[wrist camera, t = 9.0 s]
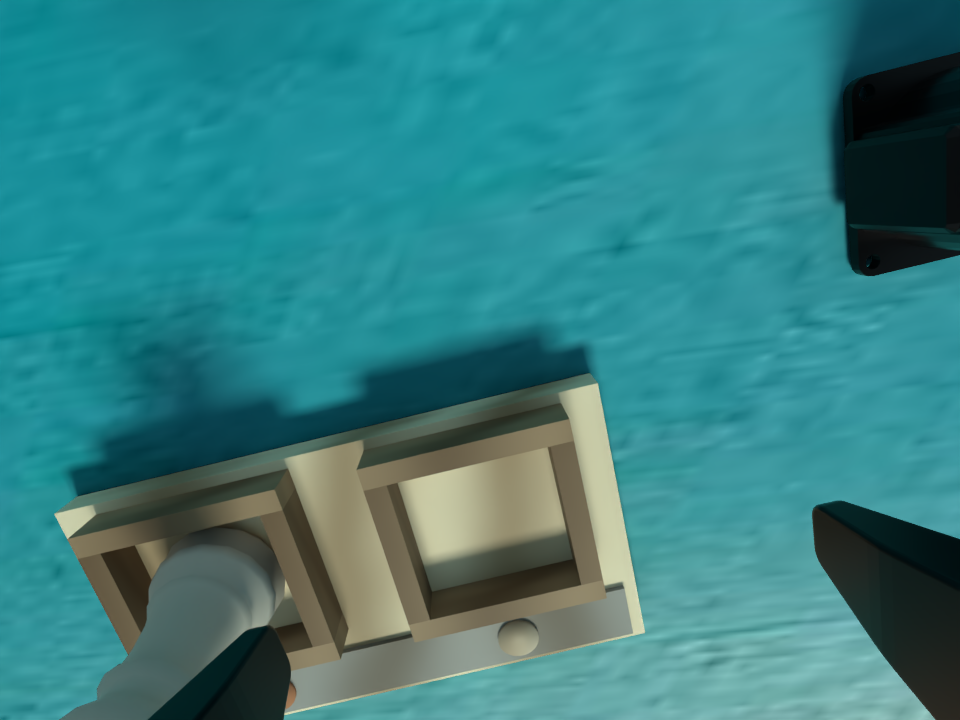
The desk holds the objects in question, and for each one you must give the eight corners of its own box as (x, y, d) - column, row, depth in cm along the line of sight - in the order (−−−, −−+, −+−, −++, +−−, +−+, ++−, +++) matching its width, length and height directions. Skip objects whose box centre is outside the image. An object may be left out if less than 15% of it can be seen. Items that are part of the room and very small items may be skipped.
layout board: (589, 372, 20) (609, 397, 17) (635, 611, 23) (658, 662, 20) (76, 496, 21) (21, 538, 18) (187, 714, 24) (153, 777, 21)
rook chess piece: (144, 577, 20) (-47, 803, 13) (214, 497, 19) (56, 686, 12) (243, 640, 21) (122, 887, 14) (314, 566, 20) (228, 783, 13)
